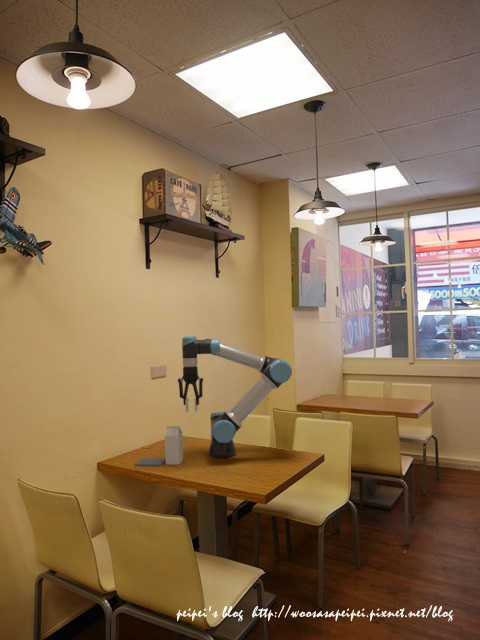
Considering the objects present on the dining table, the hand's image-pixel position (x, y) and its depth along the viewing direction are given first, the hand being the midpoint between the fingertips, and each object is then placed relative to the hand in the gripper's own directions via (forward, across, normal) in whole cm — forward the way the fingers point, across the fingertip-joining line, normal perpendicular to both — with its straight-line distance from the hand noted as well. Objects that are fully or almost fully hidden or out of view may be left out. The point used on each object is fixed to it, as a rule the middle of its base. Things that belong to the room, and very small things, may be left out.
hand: (191, 411), depth 238 cm
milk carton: (+27, +10, 0) cm, 29 cm away
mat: (+27, +22, 0) cm, 35 cm away
